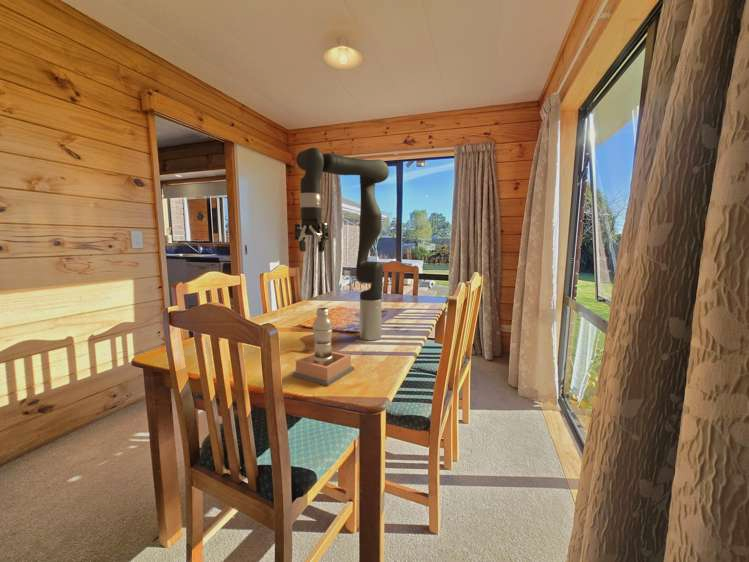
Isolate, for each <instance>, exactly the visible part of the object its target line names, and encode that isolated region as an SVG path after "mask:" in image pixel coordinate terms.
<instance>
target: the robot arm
mask: <svg viewBox="0 0 749 562" xmlns="http://www.w3.org/2000/svg"><path fill="white" fill-rule="evenodd" d="M295 162H296V165H297V167H298V168H299V169H300V170H302V171H304V174H303V175H304V176H302V178H301V179H300V182H299V183H300V198H299V205H300V206H299V208H300V209H299V210H300V211H299V212H300V213H299V215H300V220H301V223H299V222H298V223H297V222H296V223H294V239H295V240H297V241H298V242H299V244H298V245H299V252H306V251H307V250H306V249H307V248H306V240H307V238H308V237H309V236H314V237H315V238H316V239H317V241H318V242H317V250H318V253H324V251H325V241H328V240H329V239H330V232H329V223H328V222H321V220H322V218H323V217H322V197H321V180H322V176H323V173H327V174H332V175H337V176H359V188H360V189H359V190H360V210H359V211H360V212H359V234H358V235H359V237H358V249H357V259H356V267H355V277H356V281H357V282H358V283H364V284H371V287H370V288H369V289H365V290H363V291H361V292H360V293H359V338H360V339H361V340H363V341H378V340H380V339H381V338H382V332H383V331H382V325H383V324H382V323H383V322H382V321H383V316H382V293H383V282H384V281H383V280H384V279H383V278H384V267H383V264H382V263H381V262H380V261H370V260H368V259H369V254H370V250H371V249H372V246H373V245H374V243H375V242H376V240H377V239H378V238H379V235H380V233H381V231H382V217H383V216H382V213H381V210H380V207H379V205H378V203H377V200H376V196H375V190H376V189H375V187H376V184H380V183H382V182H384V181H386V180H387V179H388V177H389V175H390V174H389V173H390V169H389V166H388V164H387V163H386V162H385V161H384V160H382V159H364V158H363V159H362V158H353V157H349V156H344V155H339V154H335V153H328V152H327V153H322V151H321V149H319V148H317V147H310V148H306V149H304V150H301V151H300V152H299V153H297V155H296V158H295Z"/></svg>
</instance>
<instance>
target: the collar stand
mask: <svg viewBox="0 0 749 562" xmlns="http://www.w3.org/2000/svg"><path fill="white" fill-rule="evenodd" d="M332 356H333V363H332V364H330V365H328V366H324V365H319V364H315V363H313V358H314V351H313V352H311V353H309V354H307V355H305V356H303V357H301V358H299V359H296V360H295V371H294V372H292V377H294V378H295V377H296V378H299V379H301V380H305V381H309V382H312V383H316V384H319V385H323V386H326V387H329V386H330V385H332V384H334V383H335V382H337V381H338V380H340V379H342V378H343V377H345V376H346V375H348V374H350V373H352V372H353V371H355V366H352V365H351V364H352V363H351V361H352V360H351V355H349V354H346V353H341V352H336V351H332Z"/></svg>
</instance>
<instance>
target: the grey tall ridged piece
mask: <svg viewBox="0 0 749 562" xmlns="http://www.w3.org/2000/svg"><path fill="white" fill-rule="evenodd" d="M329 314H330V313H329V308H328V307H319V308H316V318H315V319H314V321H313V323H312V331H313V333H312V334H313V341H314V349H313V350H314V351H313V352H314V358H313V363H315V364H319V365H324V366H328V365H330V364H332V363H333V356H332V352H333V350H332V335H333V328H334V325H333V321H332V320H331V318H330V317H329Z"/></svg>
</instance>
